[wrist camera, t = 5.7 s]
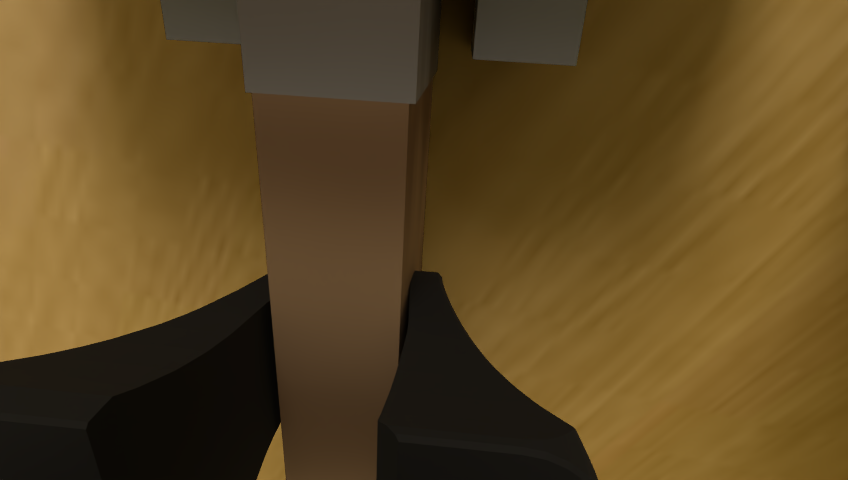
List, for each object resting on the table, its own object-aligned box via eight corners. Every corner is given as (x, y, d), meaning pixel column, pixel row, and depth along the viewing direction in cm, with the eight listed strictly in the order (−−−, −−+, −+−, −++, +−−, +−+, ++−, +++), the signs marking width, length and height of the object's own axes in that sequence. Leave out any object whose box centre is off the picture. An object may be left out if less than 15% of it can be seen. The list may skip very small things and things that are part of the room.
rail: (412, 456, 18) (390, 638, 13) (346, 449, 18) (295, 626, 13) (445, -63, 11) (427, -147, 6) (337, -69, 11) (222, -155, 6)
